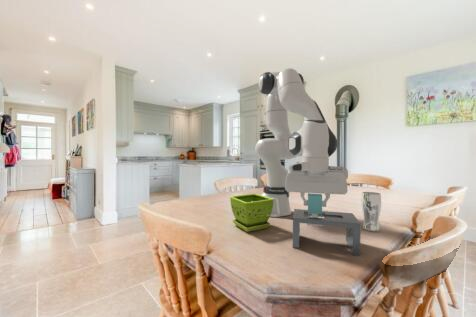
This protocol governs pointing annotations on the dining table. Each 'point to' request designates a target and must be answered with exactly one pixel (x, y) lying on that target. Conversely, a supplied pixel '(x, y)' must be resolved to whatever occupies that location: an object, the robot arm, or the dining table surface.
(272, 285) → the dining table surface
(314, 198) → the peg
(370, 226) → the beer glass
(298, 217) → the keyhole bracket
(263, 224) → the flower pot
